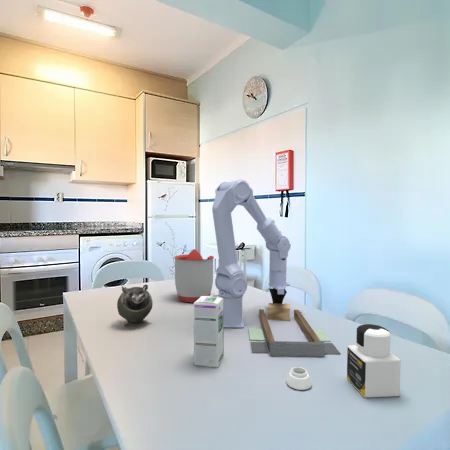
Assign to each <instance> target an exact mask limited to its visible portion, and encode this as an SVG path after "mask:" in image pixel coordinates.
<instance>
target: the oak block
mask: <svg viewBox="0 0 450 450" xmlns="http://www.w3.org/2000/svg"><path fill="white" fill-rule="evenodd" d="M290 307H291V304H290V303H282V304H279V303H273V302H268V304H267V320H268V321H269V320H270V321H271V320H272V321H284V322H285V321H287V322H290V321H291V320H290V318H291V317H290V316H291V308H290Z"/></svg>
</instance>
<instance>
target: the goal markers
mask: <svg viewBox="0 0 450 450" xmlns="http://www.w3.org/2000/svg"><path fill="white" fill-rule="evenodd" d="M247 331H248V337H249V341H250V342H266V339H265V336H264V332H263V329H262V328H248V330H247ZM313 331H314V332H315V334H316V335H317V336H318V338H319V339H320V341H321V342H323V343H332V342H331V340H330V338H329V337H328V336H327V335H326V333H325V332H324V330H323V329H313Z"/></svg>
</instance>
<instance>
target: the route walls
mask: <svg viewBox="0 0 450 450" xmlns="http://www.w3.org/2000/svg"><path fill="white" fill-rule="evenodd" d="M258 312H259V313H258V318H259V320H260V324H261V329H262V331H263V334H264V338H265V342H266V345H267V349H268V351H269V341H276V340H275V338H274V337H275V336H274V335H273V331H272V330H271V327H270V324H269V323H270V322H269V319H268V316H267V315H266V313H265V310H264V309H263V308H262V309H261V308H259V309H258ZM293 318H294V320H295V321H296V323H297V325H298V326H299V328H300V330H301V332H302V333H303V334H304V336H305V338H306V340H307V342H321V341H320V339H319V338H318V336H317V335H316V334H315V332H314V331H313V330H314V329H313V328H312V326H311V325H310V323H309V322H308V321H307V320H306V318H305V317H304V315H303V314H302V312H301V311H300V309H294V310H293Z"/></svg>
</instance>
